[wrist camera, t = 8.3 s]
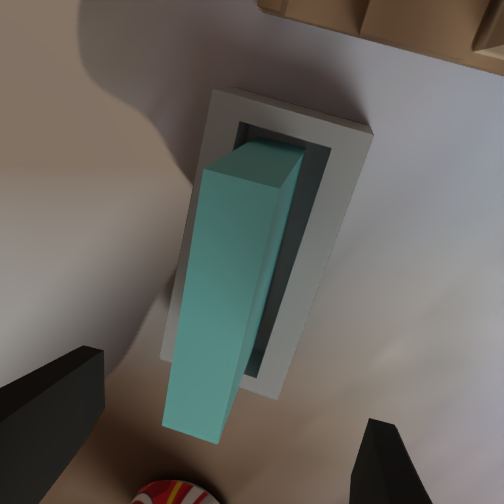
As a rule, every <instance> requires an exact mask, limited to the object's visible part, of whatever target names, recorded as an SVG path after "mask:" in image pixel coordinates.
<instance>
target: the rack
mask: <svg viewBox="0 0 504 504" xmlns="http://www.w3.org/2000/svg"><path fill="white" fill-rule="evenodd" d="M494 1H495V0H258V6H259V10H261V11H262V12H264V13H268V14H271V15H275V16H279V17H283V18H286V19H290V20H294V21H298V22H301V23H305V24H309V25H313V26H316V27H320V28H324V29H328V30H332V31H335V32H339V33H343V34H347V35H350V36H354V37H358V38H362V39H365V40H369V41H373V42H377V43H381V44H384V45H388V46H392V47H396V48H399V49H403V50H407V51H411V52H414V53H418V54H422V55H426V56H430V57H433V58H437V59H441V60H445V61H448V62H452V63H456V64H460V65H463V66H467V67H471V68H475V69H478V70H482V71H486V72H490V73H494V74H497V75H501V76H504V60H501V59H497V58H493V57H490V56H486V55H482V54H478V53H474V52H473V50H474V48H475V46H476V43H477V41H478V39H479V36H480V34H481V32H482V29H483V27H484V25H485V22H486V20H487V18H488V15H489V13H490V11H491V8H492V6H493V4H494Z"/></svg>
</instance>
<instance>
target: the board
mask: <svg viewBox="0 0 504 504" xmlns="http://www.w3.org/2000/svg"><path fill="white" fill-rule="evenodd" d="M305 152H306V148H305V147H301V146H297V145H293V144H289V143H285V142H281V141H277V140H273V139H269V138H265V137H261V136H257V137H256V138H254V139H252V140H251V141H249V142H247V143H246V144H244V145H242V146H241V147H239V148H237V149H236V150H234V151H232V152H231V153H229V154H227V155H226V156H224V157H222V158H221V159H219V160H217V161H216V162H214V163H212V164H211V165H209V166H207V167H205V168H204V169H203V175H202V181H201V187H200V193H199V200H198V206H197V212H196V218H195V224H194V230H193V237H192V243H191V249H190V255H189V261H188V268H187V274H186V280H185V286H184V292H183V299H182V305H181V311H180V317H179V323H178V329H177V336H176V342H175V348H174V354H173V360H172V367H171V373H170V379H169V385H168V391H167V398H166V404H165V410H164V416H163V422H162V426H165V427H168V428H171V429H174V430H176V431H179V432H182V433H185V434H188V435H191V436H194V437H197V438H200V439H203V440H206V441H209V442H212V443H215V444H217V445H218V442H219V440H220V437H221V434H222V431H223V429H224V426H225V423H226V420H227V418H228V415H229V412H230V410H231V407H232V404H233V401H234V399H235V396H236V393H237V390H238V388H239V385H240V382H241V379H242V377H243V374H244V371H245V369H246V366H247V363H248V360H249V358H250V355H251V352H252V349H253V347H254V344H255V341H256V338H257V336H258V333H259V330H260V326H261V322H262V318H263V314H264V310H265V306H266V303H267V299H268V295H269V291H270V287H271V283H272V279H273V276H274V272H275V268H276V264H277V260H278V256H279V252H280V249H281V245H282V241H283V237H284V233H285V229H286V225H287V222H288V218H289V214H290V210H291V206H292V202H293V198H294V195H295V191H296V187H297V183H298V179H299V175H300V171H301V168H302V164H303V160H304V156H305Z"/></svg>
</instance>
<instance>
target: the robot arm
mask: <svg viewBox="0 0 504 504" xmlns="http://www.w3.org/2000/svg"><path fill="white" fill-rule="evenodd" d="M104 408H105V397H104V350H100V349H96V348H92V347H88V346H81V347H79V348H77V349H75V350H73V351H71V352H69V353H67V354H65V355H64V356H61V357H59V358H58V359H56V360H54V361H52V362H50V363H48V364H46V365H44V366H43V367H40V368H39V369H37V370H35V371H33V372H31V373H29V374H27V375H25V376H23V377H21V378H19V379H17V380H15V381H13V382H11V383H9V384H7V385H6V386H3V387H1V388H0V504H39V502H40V501H41V500H42V499H43V497H44V496H45V495H46V493H47V492H48V491H49V489H50V488H51V487H52V485H53V484H54V483H55V481H56V480H57V479H58V477H59V476H60V475H61V473H62V472H63V471H64V469H65V468H66V467H67V465H68V464H69V463H70V461H71V460H72V459H73V457H74V456H75V455H76V453H77V452H78V451H79V449H80V448H81V447H82V445H83V444H84V442H85V441H86V439H87V438H88V436H89V434H90V433H91V431H92V429H93V428H94V426H95V424H96V422H97V420H98V419H99V417H100V415H101V413H102V412H103V410H104ZM349 504H433V503H432V501H431V500H430V498H429V496H428V494H427V492H426V490H425V488H424V486H423V484H422V482H421V480H420V478H419V476H418V474H417V472H416V470H415V467H414V465H413V463H412V461H411V459H410V457H409V455H408V452H407V450H406V448H405V446H404V443H403V441H402V439H401V437H400V434H399V432H398V430H397V428H396V426H395V425H394V424H390V423H386V422H382V421H378V420H374V419H371V418H369V420H368V424H367V427H366V430H365V433H364V436H363V439H362V443H361V446H360V449H359V452H358V455H357V458H356V462H355V465H354V468H353V471H352V474H351V484H350V499H349Z"/></svg>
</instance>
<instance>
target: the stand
mask: <svg viewBox="0 0 504 504" xmlns="http://www.w3.org/2000/svg"><path fill="white" fill-rule="evenodd" d="M257 136H261V137H265V138H269V139H273V140H277V141H281V142H285V143H289V144H293V145H297V146H301V147H305V148H306V152H305V156H304V160H303V164H302V168H301V171H300V175H299V179H298V183H297V187H296V191H295V195H294V198H293V202H292V206H291V210H290V214H289V218H288V222H287V225H286V229H285V233H284V237H283V241H282V245H281V249H280V252H279V256H278V260H277V264H276V268H275V272H274V276H273V279H272V283H271V287H270V291H269V295H268V299H267V303H266V306H265V310H264V314H263V318H262V322H261V326H260V330H259V333H258V336H257V338H256V341H255V344H254V347H253V349H252V352H251V355H250V358H249V360H248V363H247V366H246V369H245V371H244V374H243V377H242V379H241V382H240V385H239V387H240V388H243V389H246V390H249V391H252V392H254V393H257V394H260V395H263V396H266V397H268V398H271V399H274V400H278V397H279V394H280V391H281V389H282V386H283V383H284V380H285V378H286V375H287V372H288V369H289V367H290V364H291V361H292V359H293V356H294V353H295V350H296V348H297V345H298V342H299V339H300V337H301V334H302V331H303V328H304V326H305V323H306V320H307V317H308V315H309V312H310V309H311V306H312V304H313V301H314V298H315V295H316V293H317V290H318V287H319V284H320V282H321V279H322V276H323V273H324V271H325V268H326V265H327V262H328V260H329V257H330V254H331V252H332V249H333V246H334V243H335V241H336V238H337V235H338V232H339V230H340V227H341V224H342V221H343V219H344V216H345V213H346V210H347V208H348V205H349V202H350V199H351V197H352V194H353V191H354V188H355V186H356V183H357V180H358V177H359V175H360V172H361V169H362V166H363V164H364V161H365V158H366V155H367V153H368V150H369V147H370V144H371V142H372V139H373V136H374V134H373V132H372V129H371V127H370V126H368V125H364V124H361V123H357V122H354V121H350V120H347V119H343V118H340V117H336V116H333V115H329V114H326V113H322V112H319V111H315V110H312V109H308V108H305V107H301V106H298V105H294V104H291V103H287V102H284V101H280V100H277V99H273V98H270V97H266V96H263V95H259V94H256V93H252V92H249V91H245V90H242V89H238V88H235V87H230V88H213V89H212V92H211V98H210V103H209V108H208V113H207V118H206V123H205V128H204V133H203V138H202V143H201V149H200V154H199V159H198V164H197V169H196V174H195V179H194V184H193V189H192V194H191V200H190V205H189V210H188V215H187V220H186V225H185V230H184V235H183V240H182V246H181V251H180V256H179V261H178V266H177V271H176V276H175V281H174V286H173V291H172V297H171V302H170V307H169V312H168V317H167V322H166V327H165V332H164V337H163V342H162V348H161V353H160V359H162V360H165V361H168V362H171V363H172V360H173V354H174V348H175V342H176V336H177V329H178V323H179V317H180V311H181V305H182V299H183V292H184V286H185V280H186V274H187V268H188V261H189V255H190V249H191V243H192V237H193V230H194V224H195V218H196V212H197V206H198V200H199V193H200V187H201V181H202V175H203V169H204V168H205V167H207V166H209V165H211V164H212V163H214V162H216V161H217V160H219V159H221V158H222V157H224V156H226V155H227V154H229V153H231V152H232V151H234V150H236V149H237V148H239V147H241V146H242V145H244V144H246V143H247V142H249V141H251V140H252V139H254V138H256V137H257Z"/></svg>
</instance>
